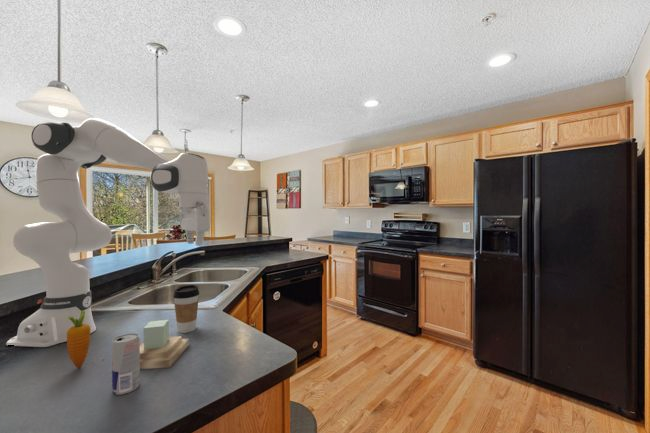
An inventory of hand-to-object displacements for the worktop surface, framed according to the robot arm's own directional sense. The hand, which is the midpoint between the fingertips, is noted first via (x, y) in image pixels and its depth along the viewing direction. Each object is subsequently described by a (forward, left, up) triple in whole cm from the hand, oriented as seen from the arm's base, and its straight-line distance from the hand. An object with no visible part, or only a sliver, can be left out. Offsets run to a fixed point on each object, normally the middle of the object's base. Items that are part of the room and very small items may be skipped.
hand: (194, 244), depth 92 cm
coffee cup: (-6, +8, -31) cm, 33 cm away
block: (-7, -11, -28) cm, 31 cm away
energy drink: (-7, -26, -31) cm, 41 cm away
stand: (-7, -11, -31) cm, 34 cm away
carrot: (-25, -15, -31) cm, 43 cm away
